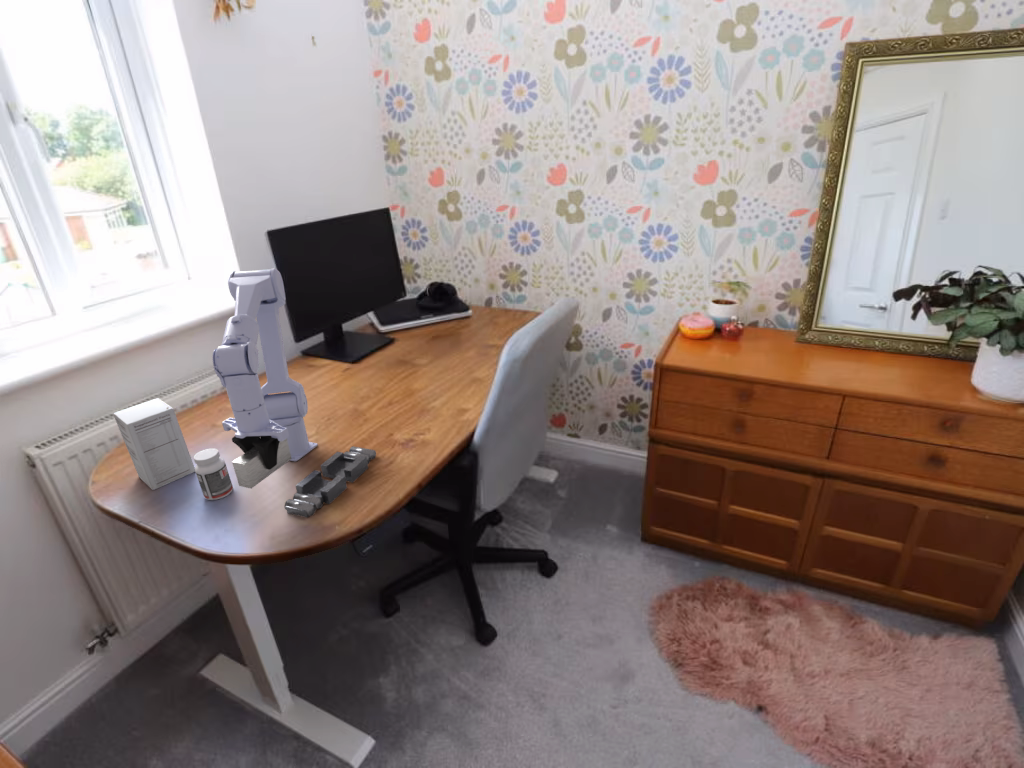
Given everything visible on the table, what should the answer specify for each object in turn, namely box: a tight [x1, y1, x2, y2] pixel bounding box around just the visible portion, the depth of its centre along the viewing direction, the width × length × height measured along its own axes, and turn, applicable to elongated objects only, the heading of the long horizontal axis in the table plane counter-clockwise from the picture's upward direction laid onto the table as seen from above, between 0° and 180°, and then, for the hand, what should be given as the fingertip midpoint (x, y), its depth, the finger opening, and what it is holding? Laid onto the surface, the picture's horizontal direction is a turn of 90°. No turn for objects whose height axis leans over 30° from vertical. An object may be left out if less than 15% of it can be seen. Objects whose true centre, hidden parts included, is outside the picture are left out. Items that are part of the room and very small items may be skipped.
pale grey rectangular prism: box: [231, 439, 292, 489], centre depth 105 cm, size 3×11×6 cm, turn 159°
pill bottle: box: [193, 447, 234, 501], centre depth 112 cm, size 6×6×10 cm
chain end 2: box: [319, 445, 377, 484], centre depth 121 cm, size 8×11×3 cm
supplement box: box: [112, 397, 196, 491], centre depth 118 cm, size 10×9×17 cm
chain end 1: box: [284, 469, 348, 519], centre depth 110 cm, size 8×11×3 cm
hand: (265, 465), depth 105 cm, fingers closed on pale grey rectangular prism, 3 cm apart
